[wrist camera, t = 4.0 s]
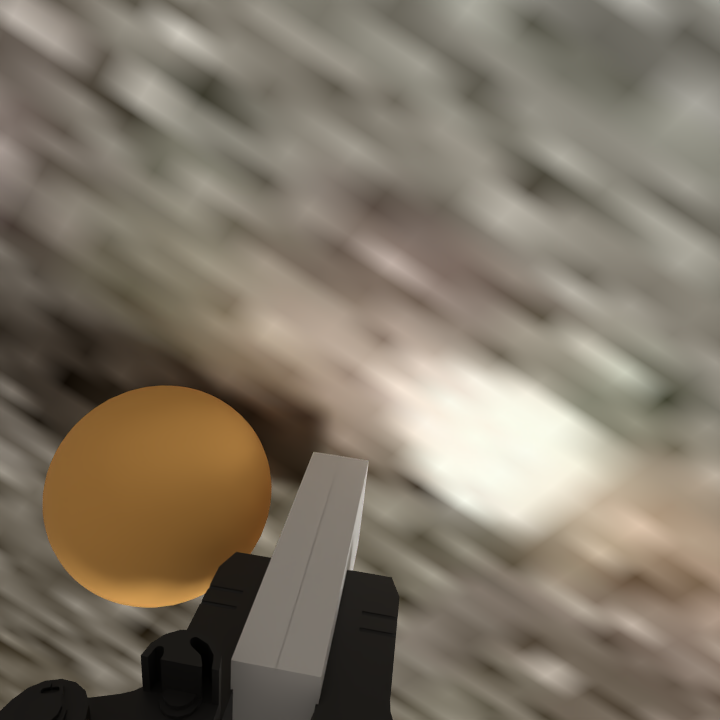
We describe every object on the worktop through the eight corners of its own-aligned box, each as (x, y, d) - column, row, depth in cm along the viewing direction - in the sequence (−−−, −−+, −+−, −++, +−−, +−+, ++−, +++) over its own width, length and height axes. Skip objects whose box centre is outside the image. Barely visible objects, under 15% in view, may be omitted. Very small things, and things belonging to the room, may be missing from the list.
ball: (198, 539, 19) (108, 689, 14) (83, 412, 18) (-62, 527, 13) (330, 465, 17) (281, 607, 12) (212, 318, 16) (102, 408, 11)
